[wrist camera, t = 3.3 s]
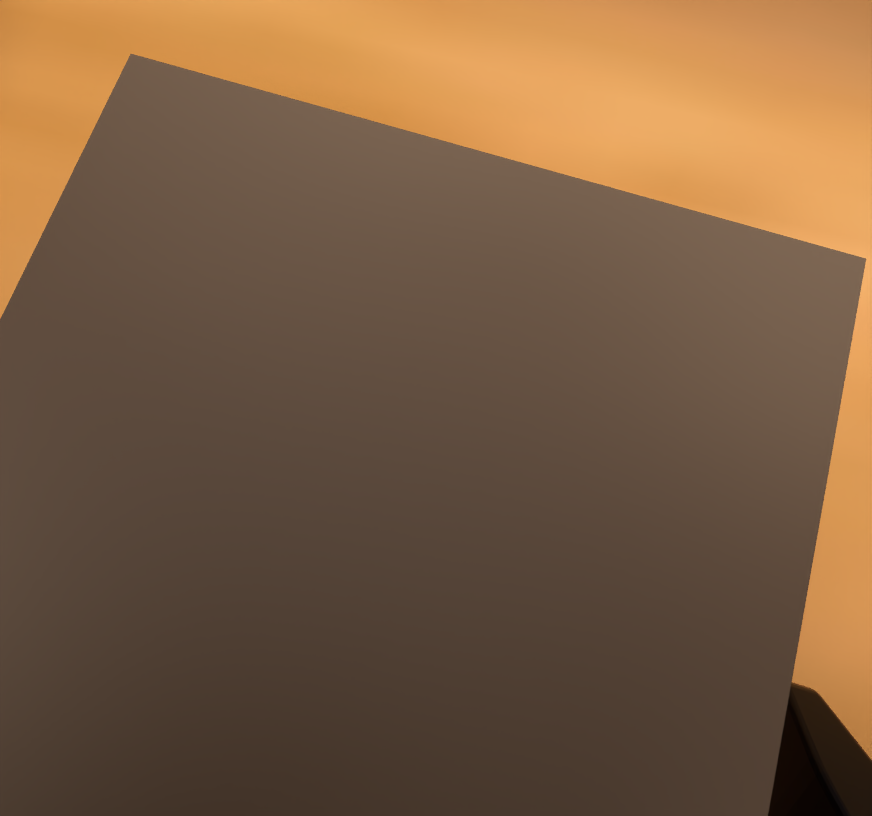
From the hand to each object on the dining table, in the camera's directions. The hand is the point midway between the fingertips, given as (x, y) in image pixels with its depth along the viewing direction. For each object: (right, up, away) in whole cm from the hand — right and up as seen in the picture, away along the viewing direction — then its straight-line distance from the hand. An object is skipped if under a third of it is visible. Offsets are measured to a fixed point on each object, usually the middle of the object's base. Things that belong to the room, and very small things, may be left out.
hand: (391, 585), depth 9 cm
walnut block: (0, -2, +8) cm, 8 cm away
